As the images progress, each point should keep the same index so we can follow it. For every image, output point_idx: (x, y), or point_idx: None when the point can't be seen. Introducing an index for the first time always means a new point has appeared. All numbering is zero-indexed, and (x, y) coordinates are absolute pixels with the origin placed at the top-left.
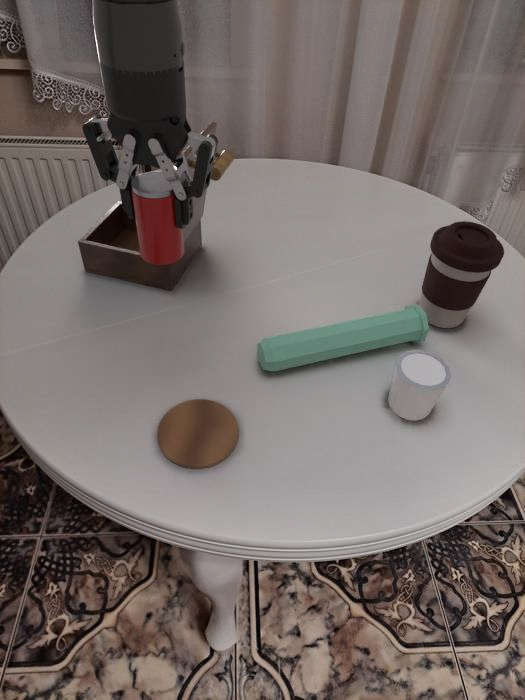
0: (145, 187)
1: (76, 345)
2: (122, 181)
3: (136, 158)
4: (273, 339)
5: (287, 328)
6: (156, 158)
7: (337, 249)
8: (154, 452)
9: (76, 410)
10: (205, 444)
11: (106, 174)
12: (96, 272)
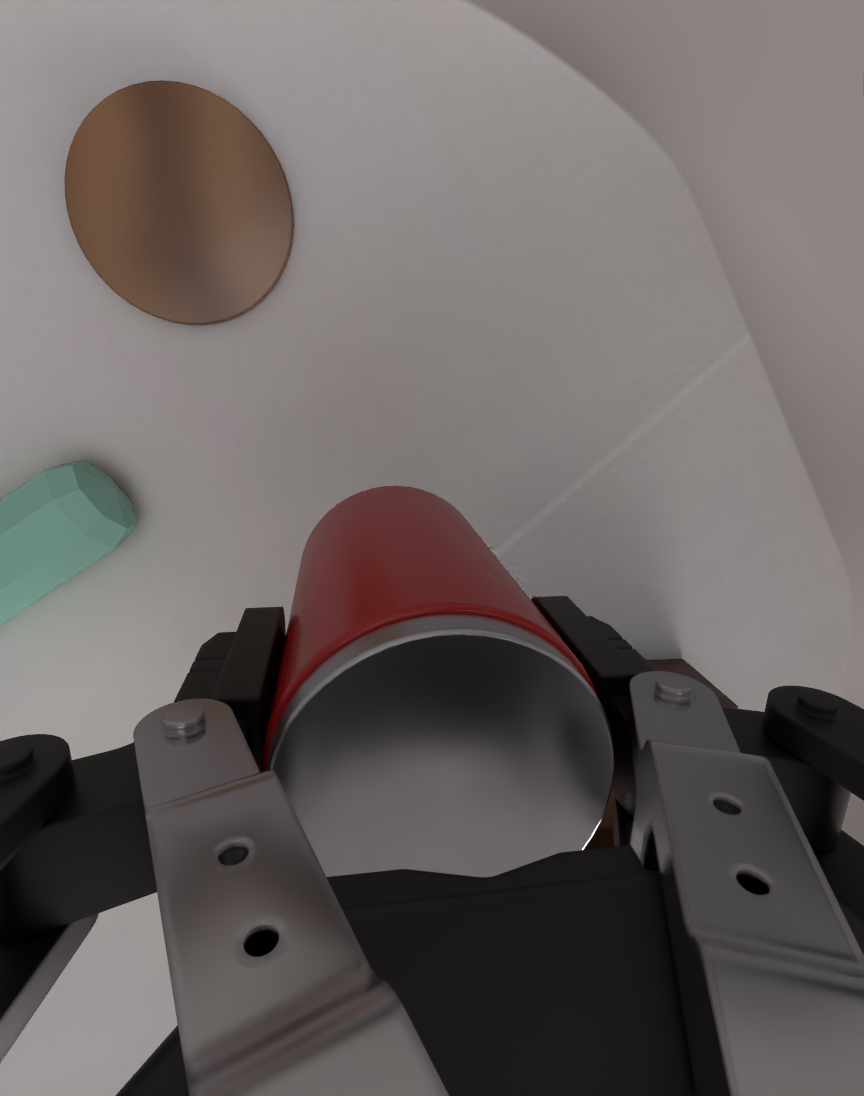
0: (482, 701)
1: (603, 414)
2: (672, 705)
3: (635, 896)
4: (61, 535)
5: (111, 643)
6: (357, 955)
7: (98, 961)
8: (269, 117)
9: (515, 204)
10: (141, 164)
11: (810, 715)
12: (655, 662)
